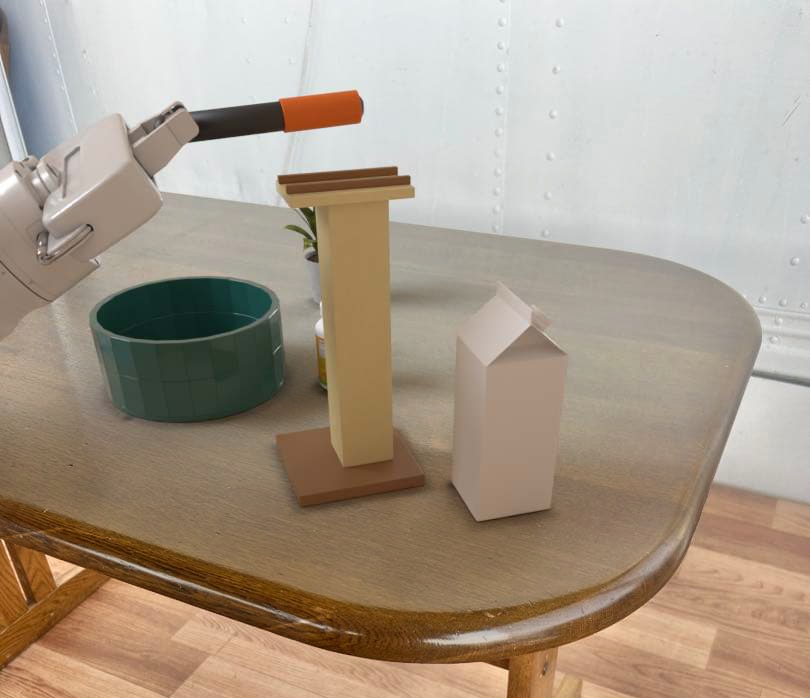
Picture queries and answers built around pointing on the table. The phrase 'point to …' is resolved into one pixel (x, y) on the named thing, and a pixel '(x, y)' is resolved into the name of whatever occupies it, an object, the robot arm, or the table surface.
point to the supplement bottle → (321, 351)
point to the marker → (277, 116)
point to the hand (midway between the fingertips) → (190, 114)
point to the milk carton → (506, 409)
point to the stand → (351, 339)
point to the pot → (190, 347)
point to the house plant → (312, 256)
